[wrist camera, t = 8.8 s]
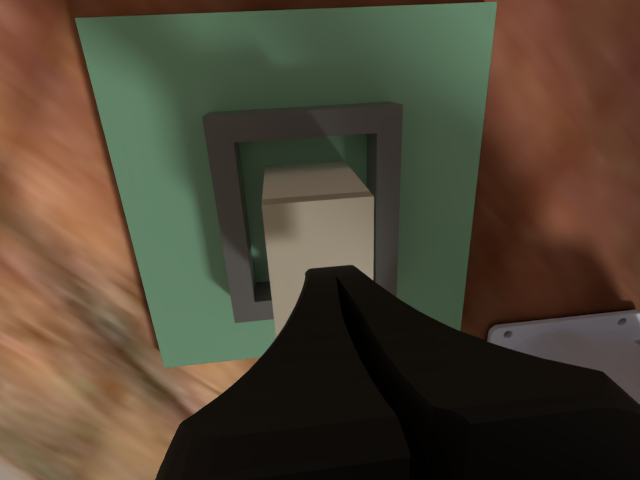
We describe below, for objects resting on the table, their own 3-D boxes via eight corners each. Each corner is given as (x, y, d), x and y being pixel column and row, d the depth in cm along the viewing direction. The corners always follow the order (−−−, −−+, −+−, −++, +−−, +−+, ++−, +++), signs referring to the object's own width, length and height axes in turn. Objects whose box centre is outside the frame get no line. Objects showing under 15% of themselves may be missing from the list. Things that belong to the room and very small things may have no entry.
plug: (344, 161, 17) (374, 196, 12) (346, 262, 19) (372, 329, 14) (264, 166, 17) (261, 204, 12) (275, 269, 19) (276, 339, 14)
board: (486, 5, 16) (523, -7, 14) (453, 326, 23) (475, 356, 20) (84, 20, 15) (48, 10, 13) (167, 357, 21) (154, 393, 19)
